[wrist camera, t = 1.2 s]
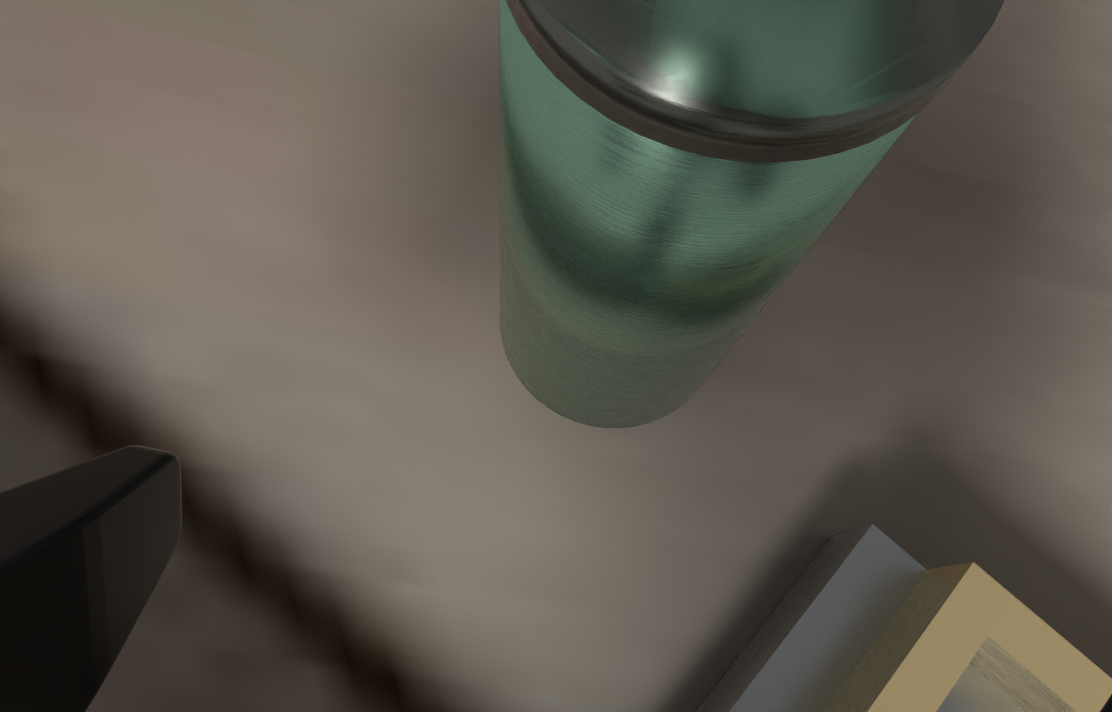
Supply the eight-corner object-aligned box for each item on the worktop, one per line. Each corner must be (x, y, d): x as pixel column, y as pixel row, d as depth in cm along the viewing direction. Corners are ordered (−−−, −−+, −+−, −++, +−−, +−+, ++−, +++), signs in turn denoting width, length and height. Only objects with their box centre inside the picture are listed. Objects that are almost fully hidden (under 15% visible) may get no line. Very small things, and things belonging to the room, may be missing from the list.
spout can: (704, 451, 22) (1009, 174, 9) (475, 403, 22) (437, 56, 9) (748, 144, 25) (1024, -405, 12) (547, 102, 25) (598, -492, 12)
